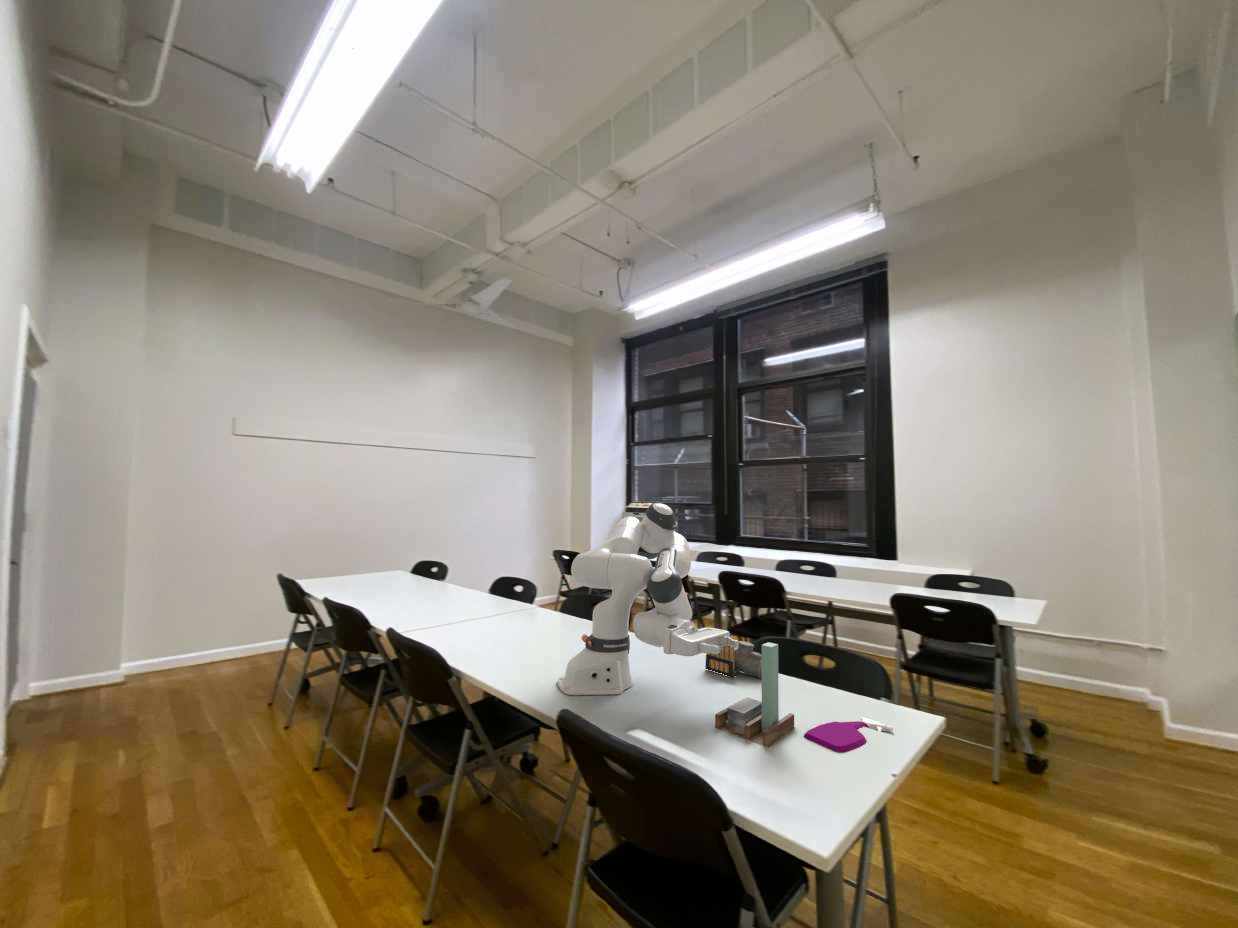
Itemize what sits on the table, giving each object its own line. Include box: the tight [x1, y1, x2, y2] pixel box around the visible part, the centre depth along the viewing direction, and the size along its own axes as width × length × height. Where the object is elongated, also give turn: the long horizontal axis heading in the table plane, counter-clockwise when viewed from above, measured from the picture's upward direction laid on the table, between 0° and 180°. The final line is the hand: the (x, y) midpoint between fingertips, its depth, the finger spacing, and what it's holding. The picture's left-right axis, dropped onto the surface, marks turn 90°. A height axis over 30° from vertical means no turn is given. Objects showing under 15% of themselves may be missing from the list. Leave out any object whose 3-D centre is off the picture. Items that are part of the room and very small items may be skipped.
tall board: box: [761, 641, 780, 734], centre depth 115 cm, size 2×4×20 cm
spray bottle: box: [803, 716, 894, 754], centre depth 115 cm, size 3×11×25 cm
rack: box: [714, 701, 796, 748], centre depth 116 cm, size 14×14×4 cm
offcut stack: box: [725, 697, 762, 735], centre depth 118 cm, size 5×11×4 cm, turn 137°
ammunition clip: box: [704, 645, 737, 678], centre depth 159 cm, size 11×2×12 cm, turn 45°
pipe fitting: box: [734, 640, 762, 679], centre depth 159 cm, size 12×8×10 cm
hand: (728, 647), depth 123 cm, fingers open, 8 cm apart
